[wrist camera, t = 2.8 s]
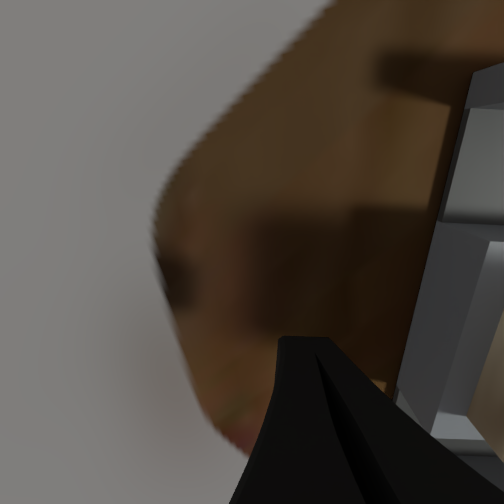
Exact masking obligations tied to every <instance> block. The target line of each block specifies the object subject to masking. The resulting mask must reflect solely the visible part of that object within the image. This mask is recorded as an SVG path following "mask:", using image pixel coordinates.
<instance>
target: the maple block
mask: <svg viewBox="0 0 504 504" xmlns="http://www.w3.org/2000/svg"><path fill="white" fill-rule="evenodd" d="M466 417H467V418H468V419H469V421H470V422H471V423H472V424H473V426H474V427H475V428H476V429H477V431H478V432H479V433H480V434H481V436H482V437H483V438H484V439H485V441H486V442H487V443H488V444H489V446H490V447H491V448H492V449H493V451H494V452H495V453H496V454H497V456H498V457H499V458H500V459H501V461H502V462H503V463H504V310H503V313H502V315H501V318H500V321H499V324H498V327H497V330H496V332H495V335H494V338H493V341H492V344H491V347H490V350H489V352H488V355H487V358H486V361H485V364H484V367H483V370H482V372H481V375H480V378H479V381H478V384H477V387H476V390H475V392H474V395H473V398H472V401H471V404H470V407H469V409H468V412H467V415H466Z"/></svg>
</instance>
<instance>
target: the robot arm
mask: <svg viewBox="0 0 504 504" xmlns="http://www.w3.org/2000/svg"><path fill="white" fill-rule="evenodd" d="M229 504H504V492H503V491H502V490H501V489H499V488H498V487H497V486H495V485H494V484H492V483H491V482H490V481H488V480H487V479H486V478H484V477H483V476H482V475H481V474H479V473H478V472H477V471H475V470H474V469H473V468H472V467H470V466H469V465H468V464H466V463H465V462H464V461H463V460H461V459H460V458H459V457H457V456H456V455H455V454H454V453H452V452H451V451H450V450H448V449H447V448H446V447H445V446H443V445H442V444H441V443H440V442H439V441H437V440H436V439H435V438H434V437H433V436H431V435H430V434H429V433H428V432H427V431H425V430H424V429H423V428H422V427H421V426H420V425H419V424H417V423H416V422H415V421H414V420H413V419H412V418H411V417H410V416H408V415H407V414H406V413H405V412H404V411H403V410H402V409H400V408H399V407H398V406H397V405H396V404H395V403H394V402H393V401H392V400H391V399H390V398H389V397H387V396H386V395H385V394H384V393H383V392H382V391H381V390H380V389H379V388H378V387H377V386H376V385H375V384H374V383H373V382H372V381H371V380H370V379H369V378H368V377H367V376H366V375H365V374H364V373H363V372H362V371H361V370H360V369H359V368H358V367H357V366H356V365H355V364H354V363H353V362H352V361H351V360H350V359H349V358H348V357H347V356H346V355H345V354H344V353H343V352H342V351H341V350H340V349H339V348H338V347H337V345H336V344H335V343H334V342H333V341H332V340H331V339H330V338H328V337H304V336H282V337H281V338H279V339H278V350H277V361H276V372H275V384H274V390H273V393H272V397H271V400H270V403H269V406H268V409H267V412H266V416H265V419H264V422H263V425H262V427H261V430H260V433H259V435H258V438H257V441H256V443H255V446H254V448H253V451H252V453H251V456H250V458H249V460H248V463H247V465H246V467H245V470H244V472H243V474H242V476H241V479H240V481H239V483H238V485H237V487H236V489H235V492H234V494H233V496H232V498H231V500H230V502H229Z"/></svg>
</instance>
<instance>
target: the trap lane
mask: <svg viewBox="0 0 504 504" xmlns="http://www.w3.org/2000/svg"><path fill="white" fill-rule="evenodd" d="M503 310H504V62H503V63H500V64H497V65H494V66H491V67H488V68H485V69H482V70H479V71H476V72H473V75H472V80H471V84H470V88H469V92H468V96H467V100H466V104H465V108H464V112H463V116H462V120H461V124H460V128H459V132H458V136H457V140H456V144H455V148H454V153H453V157H452V161H451V165H450V169H449V173H448V177H447V181H446V185H445V189H444V193H443V197H442V201H441V205H440V209H439V213H438V217H437V221H436V226H435V230H434V234H433V238H432V242H431V246H430V250H429V254H428V258H427V262H426V266H425V270H424V274H423V278H422V282H421V286H420V290H419V294H418V299H417V303H416V307H415V311H414V315H413V319H412V323H411V327H410V331H409V335H408V339H407V343H406V347H405V351H404V355H403V359H402V363H401V368H400V372H399V376H398V380H397V384H396V388H395V392H394V396H393V400H392V401H393V402H394V403H395V404H396V405H397V406H398V407H399V408H400V409H402V410H403V411H404V412H405V413H406V414H407V415H408V416H410V417H411V418H412V419H413V420H414V421H415V422H416V423H417V424H419V425H420V426H421V427H422V428H423V429H424V430H425V431H427V432H428V433H429V434H430V435H431V436H433V437H434V438H435V439H436V440H437V441H439V442H440V443H441V444H442V445H443V446H445V447H446V448H447V449H448V450H450V451H451V452H452V453H454V454H455V455H456V456H457V457H459V458H460V459H461V460H463V461H464V462H465V463H466V464H468V465H469V466H470V467H472V468H473V469H474V470H475V471H477V472H478V473H479V474H481V475H482V476H483V477H484V478H486V479H487V480H488V481H490V482H491V483H492V484H494V485H495V486H497V487H498V488H499V489H501V490H502V491H503V492H504V463H503V462H502V461H501V459H500V458H499V457H498V456H497V454H496V453H495V452H494V451H493V449H492V448H491V447H490V446H489V444H488V443H487V442H486V441H485V439H484V438H483V437H482V436H481V434H480V433H479V432H478V431H477V429H476V428H475V427H474V426H473V424H472V423H471V422H470V421H469V419H468V418H467V417H466V415H467V412H468V409H469V407H470V404H471V401H472V398H473V395H474V392H475V390H476V387H477V384H478V381H479V378H480V375H481V372H482V370H483V367H484V364H485V361H486V358H487V355H488V352H489V350H490V347H491V344H492V341H493V338H494V335H495V332H496V330H497V327H498V324H499V321H500V318H501V315H502V313H503Z"/></svg>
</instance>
